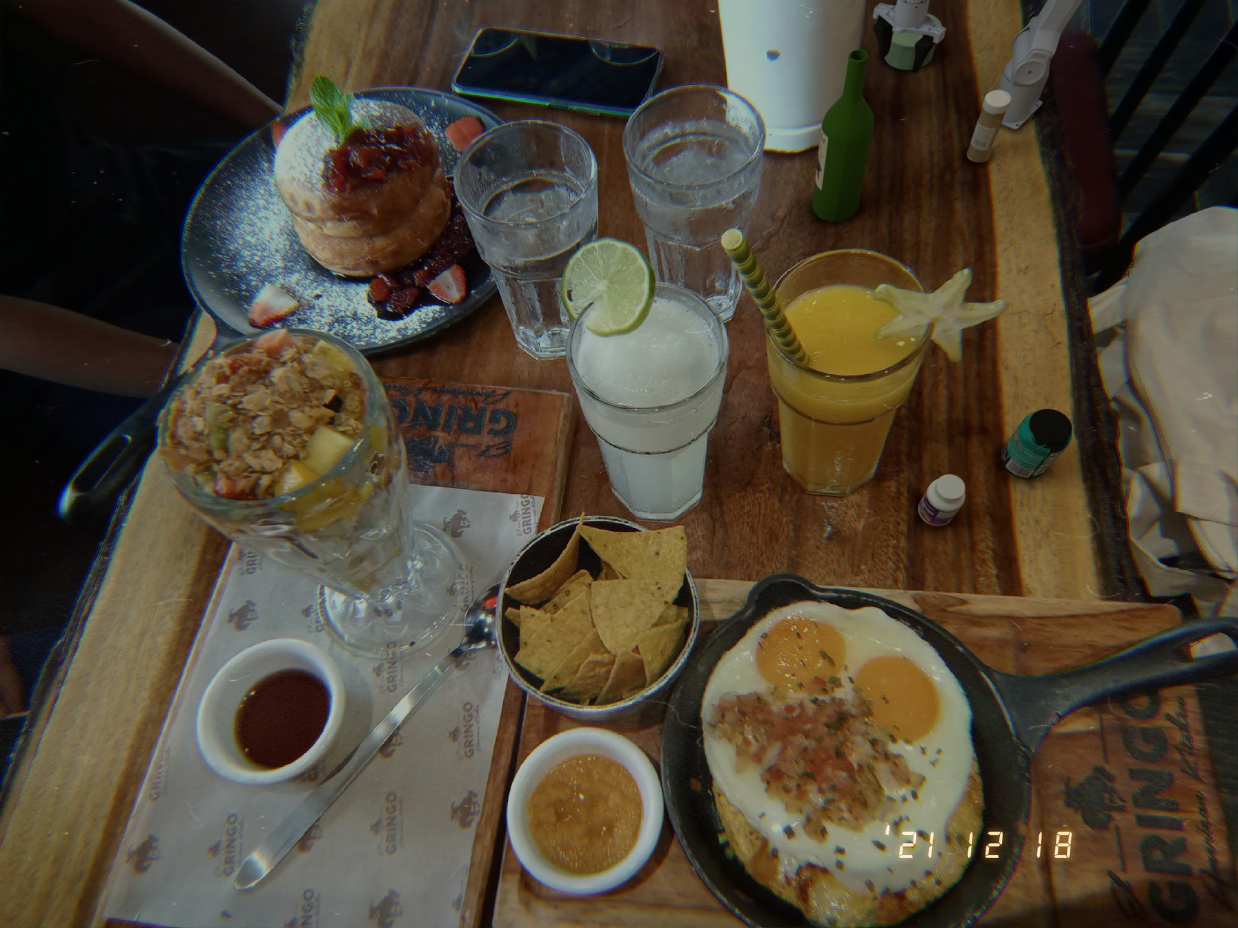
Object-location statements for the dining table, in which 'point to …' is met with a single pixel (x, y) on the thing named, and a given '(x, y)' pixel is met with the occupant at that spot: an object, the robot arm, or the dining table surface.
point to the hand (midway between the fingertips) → (900, 63)
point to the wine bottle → (844, 147)
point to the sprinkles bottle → (988, 125)
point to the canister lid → (910, 36)
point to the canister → (905, 57)
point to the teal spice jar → (1036, 443)
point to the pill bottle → (942, 500)
